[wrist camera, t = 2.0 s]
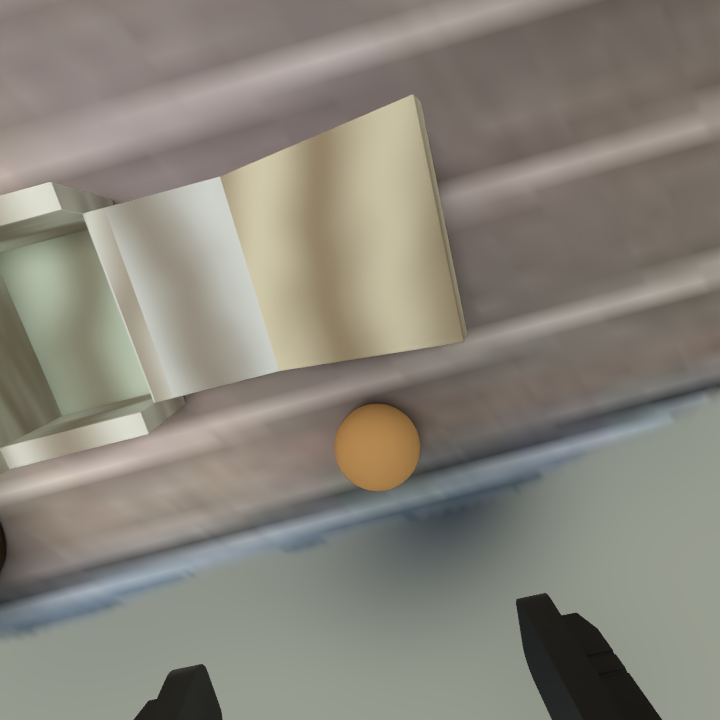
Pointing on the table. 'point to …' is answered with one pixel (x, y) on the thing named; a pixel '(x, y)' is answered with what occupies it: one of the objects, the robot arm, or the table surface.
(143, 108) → the table surface
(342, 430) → the ball
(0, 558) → the olive oil
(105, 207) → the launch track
